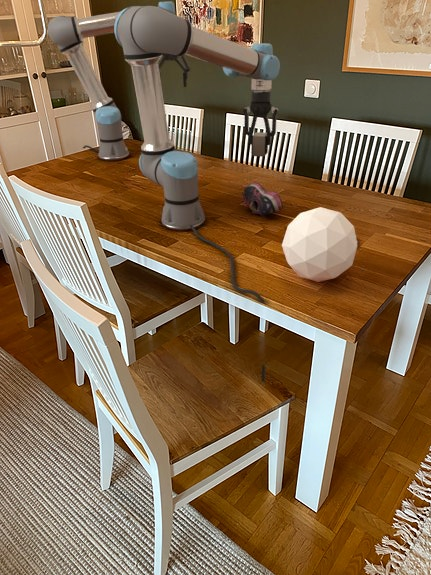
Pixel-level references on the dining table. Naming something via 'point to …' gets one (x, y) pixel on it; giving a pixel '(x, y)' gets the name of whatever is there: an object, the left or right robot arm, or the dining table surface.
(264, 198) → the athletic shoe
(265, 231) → the dining table surface
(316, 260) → the sphere
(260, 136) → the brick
